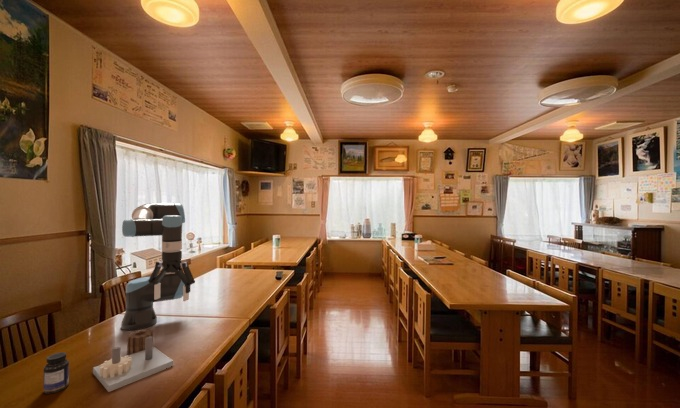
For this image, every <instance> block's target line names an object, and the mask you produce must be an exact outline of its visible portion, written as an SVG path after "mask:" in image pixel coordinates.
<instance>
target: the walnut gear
mask: <svg viewBox="0 0 680 408" xmlns="http://www.w3.org/2000/svg"><path fill="white" fill-rule="evenodd" d="M126 335H127V336H126V354H127V356H128V355H131V354H134V353H137V352H140V351H143V350H145V338H147V337H153V338H154V331H153V329H150V328H147V329H145V328H142V329H137V330H134V331H133V332H130V333H129V334H126Z"/></svg>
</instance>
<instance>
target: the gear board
mask: <svg viewBox="0 0 680 408" xmlns="http://www.w3.org/2000/svg"><path fill="white" fill-rule="evenodd" d="M121 348H122V347H121V346H115V347H112V349H111V358H110V359H109V360H107V359H106V360H105V361H103V363H101V364H99V365H97V366H93V367H92V374H93V376H95V378H96V379H97V380H98V381H99V383H101V385H102V387H104V389H106V391H107V392H108V393H110V392H112V391H114V390H115V391H116V390H117V389H120V388H122V387H125V386H127V385H129V384H132V383H134V382H137V381H140V380H141V379H144V378H147V377H149V376H153V375H154V374H156V373H159V372H162V371H164V370H167V369H169V368H172V367H174V360H173V359H172V358H171V357H168V356H167V355H166V354H165V353H163V352H162V351H160V350H159V349H158V348H157V347H155V346H154V336H153V337H147V338H145V350H143V351H140V352H137V353H134V354H131V355H130V354H129V355H128V354H127V355H124V356H122V355H121V354H122V353H121ZM171 366H172V367H171ZM166 368H167V369H166Z"/></svg>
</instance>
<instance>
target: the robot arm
mask: <svg viewBox="0 0 680 408" xmlns="http://www.w3.org/2000/svg"><path fill="white" fill-rule="evenodd" d="M184 223H186V215H185V209H184V206H183V204H181V203H176V202H152V203H145V204H142V205H139V206H137V207H135V209H134V210H133V211H132V214H131V218H130V219H124V220H123V221H122V227H121V230H122V231H121V232H122V236H123V237H127V238H128V237H130V238H131V237H132V238H136V237H152V236H155V237H156V236H161V260H159V261H156V262H155V266H154V268H153V270H152V273H151V275H150V276H145V277H138V278H136V279H135V278H134V279H132V280H130V281H128V283H126V286H125V311H124V312H125V313H124V315H123V318H122V320H121V324H120V328H121V329H122V330H124V331H137V330H142V329H145V328H149V327H152V326H153V325H155V324H156V323H157V321H158V317H157V314H156V312H155V309H154V303H158V302H159V303H160V302H164V301H173V300H179V299H182V302H186V301H187V302H188V301H189V299H190V298H189V297H190V296H189V295H190V293H191V285H194V284H195V282H196V280H195V279H194V277H193V274H192V272H191V269H190V267H189V262H188V261H184V262H182V259H183V257H182V256H183V253H182V249H183V239H182V238H183V237H182V236H183V235H182V234H183V224H184Z"/></svg>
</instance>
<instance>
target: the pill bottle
mask: <svg viewBox="0 0 680 408" xmlns="http://www.w3.org/2000/svg"><path fill="white" fill-rule="evenodd" d="M46 363H47V364H45V365H44V367H43V393H44V394H47V395H50V394H56V393H59V392H61V391H63V390H64V389H66V388H67V387H68V386H69V384H70V361H69V359H67V352H63V351H62V352H57V353H53V354H51V355H48V356H47V357H46Z"/></svg>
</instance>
